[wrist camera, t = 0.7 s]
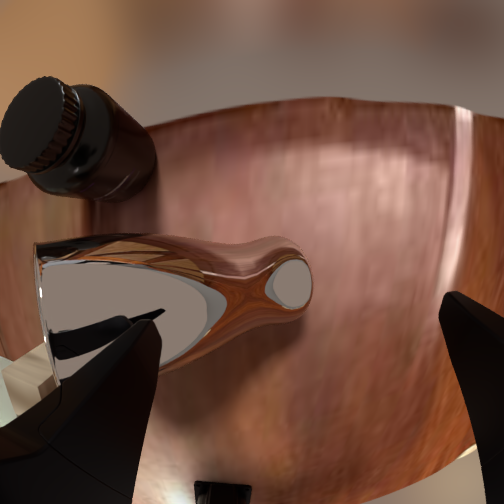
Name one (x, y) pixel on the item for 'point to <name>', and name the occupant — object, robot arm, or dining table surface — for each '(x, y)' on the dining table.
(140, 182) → the supplement bottle
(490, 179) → the dining table surface
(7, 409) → the bin
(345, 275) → the dining table surface
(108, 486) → the robot arm
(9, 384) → the birch block
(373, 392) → the dining table surface
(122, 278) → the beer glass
